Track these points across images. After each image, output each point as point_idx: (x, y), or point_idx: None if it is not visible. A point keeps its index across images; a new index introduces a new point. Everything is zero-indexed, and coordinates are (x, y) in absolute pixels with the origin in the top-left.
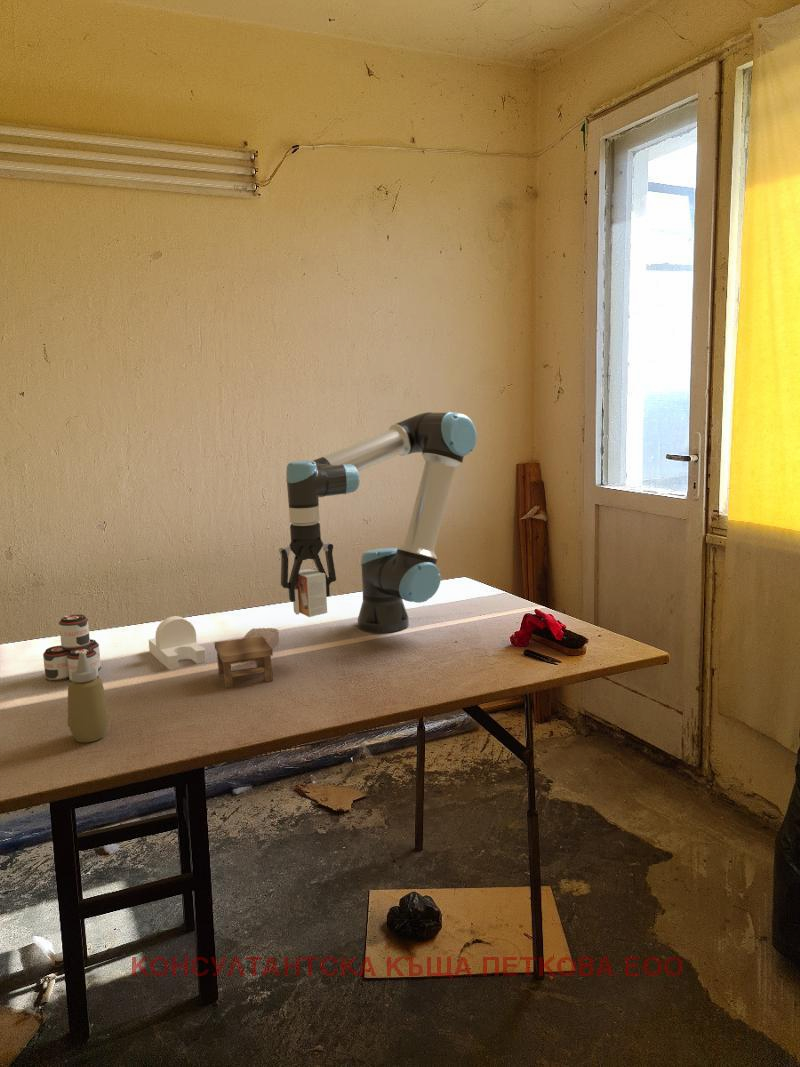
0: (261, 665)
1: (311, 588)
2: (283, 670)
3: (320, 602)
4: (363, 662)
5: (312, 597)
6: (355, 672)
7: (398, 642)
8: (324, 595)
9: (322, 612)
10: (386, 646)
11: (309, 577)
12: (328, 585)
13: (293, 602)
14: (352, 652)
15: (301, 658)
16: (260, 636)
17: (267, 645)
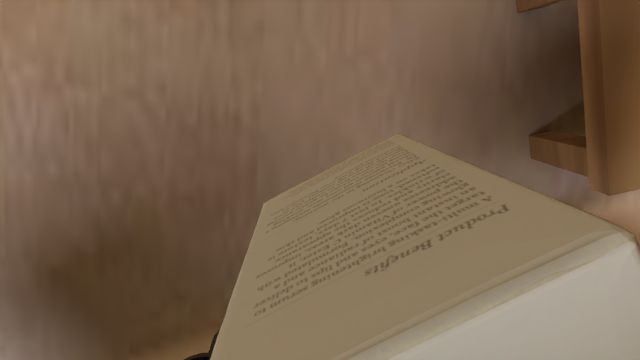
0: (545, 134)
1: (436, 196)
2: (461, 99)
3: (311, 199)
4: (151, 120)
5: (398, 172)
6: (187, 8)
7: (11, 318)
8: (266, 242)
9: (298, 184)
10: (58, 283)
11: (554, 256)
12: (196, 356)
13: None
14: (191, 243)
15: None
16: (618, 187)
17: (609, 22)
